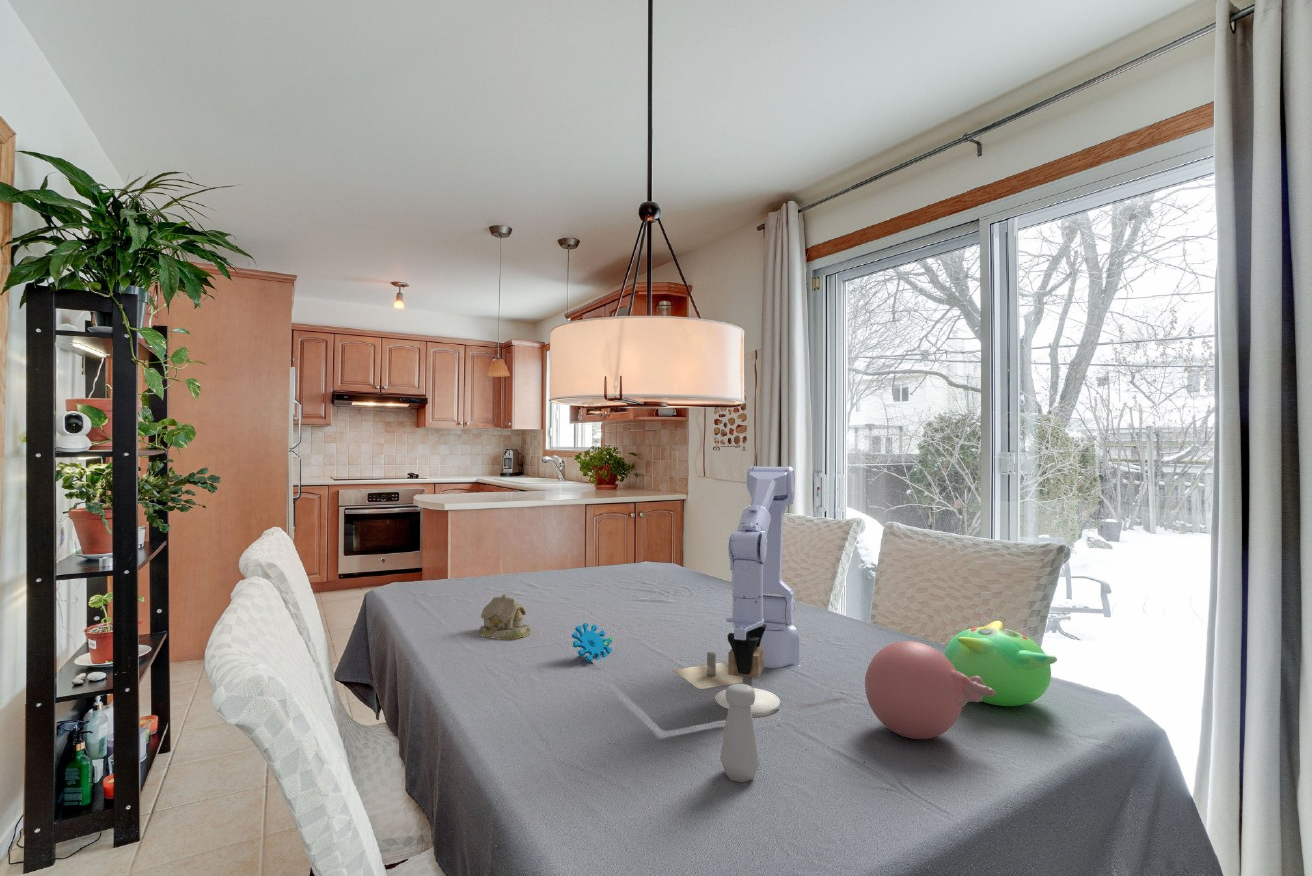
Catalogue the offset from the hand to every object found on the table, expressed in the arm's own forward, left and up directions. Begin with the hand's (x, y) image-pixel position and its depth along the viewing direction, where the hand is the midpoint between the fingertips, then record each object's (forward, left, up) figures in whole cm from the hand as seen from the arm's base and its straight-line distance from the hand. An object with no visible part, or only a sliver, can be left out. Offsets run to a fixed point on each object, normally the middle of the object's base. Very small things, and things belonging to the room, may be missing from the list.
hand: (747, 668), depth 122 cm
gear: (+18, -37, -7) cm, 41 cm away
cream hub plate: (0, 0, -7) cm, 7 cm away
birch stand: (0, -14, -7) cm, 16 cm away
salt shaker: (+15, +22, -7) cm, 28 cm away
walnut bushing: (0, 0, -1) cm, 1 cm away
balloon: (-20, +24, -7) cm, 32 cm away
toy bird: (-44, +18, -7) cm, 48 cm away
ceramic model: (+32, -65, -7) cm, 73 cm away
